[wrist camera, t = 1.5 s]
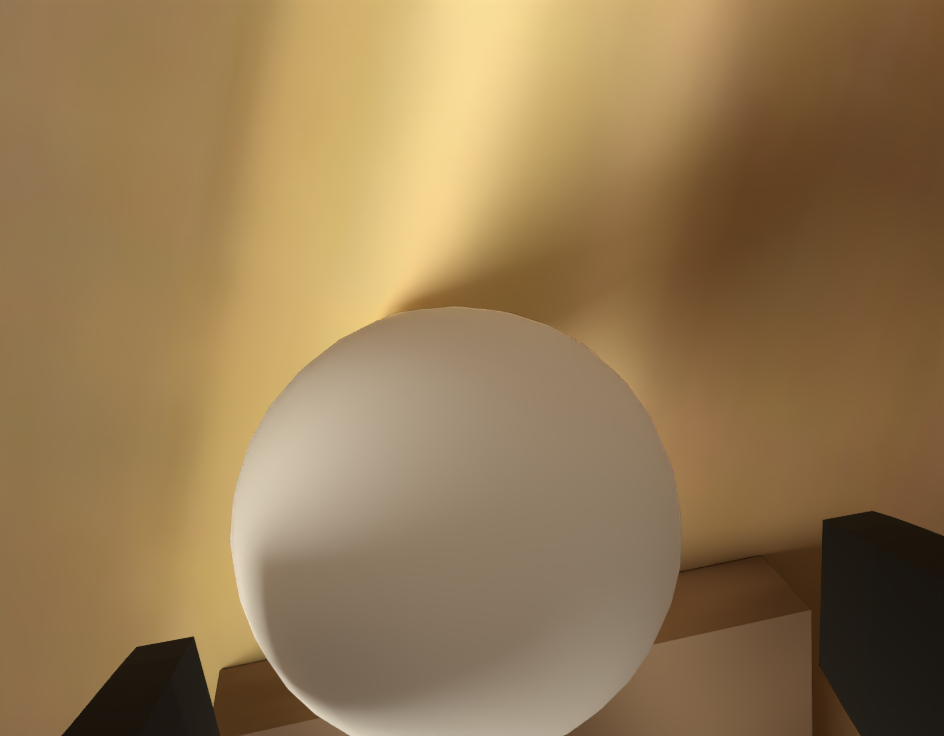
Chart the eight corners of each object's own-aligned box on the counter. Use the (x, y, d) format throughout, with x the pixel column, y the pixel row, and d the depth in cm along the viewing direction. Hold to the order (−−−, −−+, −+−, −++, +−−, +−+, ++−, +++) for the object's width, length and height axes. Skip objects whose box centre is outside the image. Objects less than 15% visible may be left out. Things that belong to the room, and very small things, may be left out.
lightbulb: (452, 164, 19) (611, 273, 8) (585, 390, 21) (845, 701, 10) (210, 317, 19) (71, 610, 9) (366, 526, 21) (408, 963, 11)
